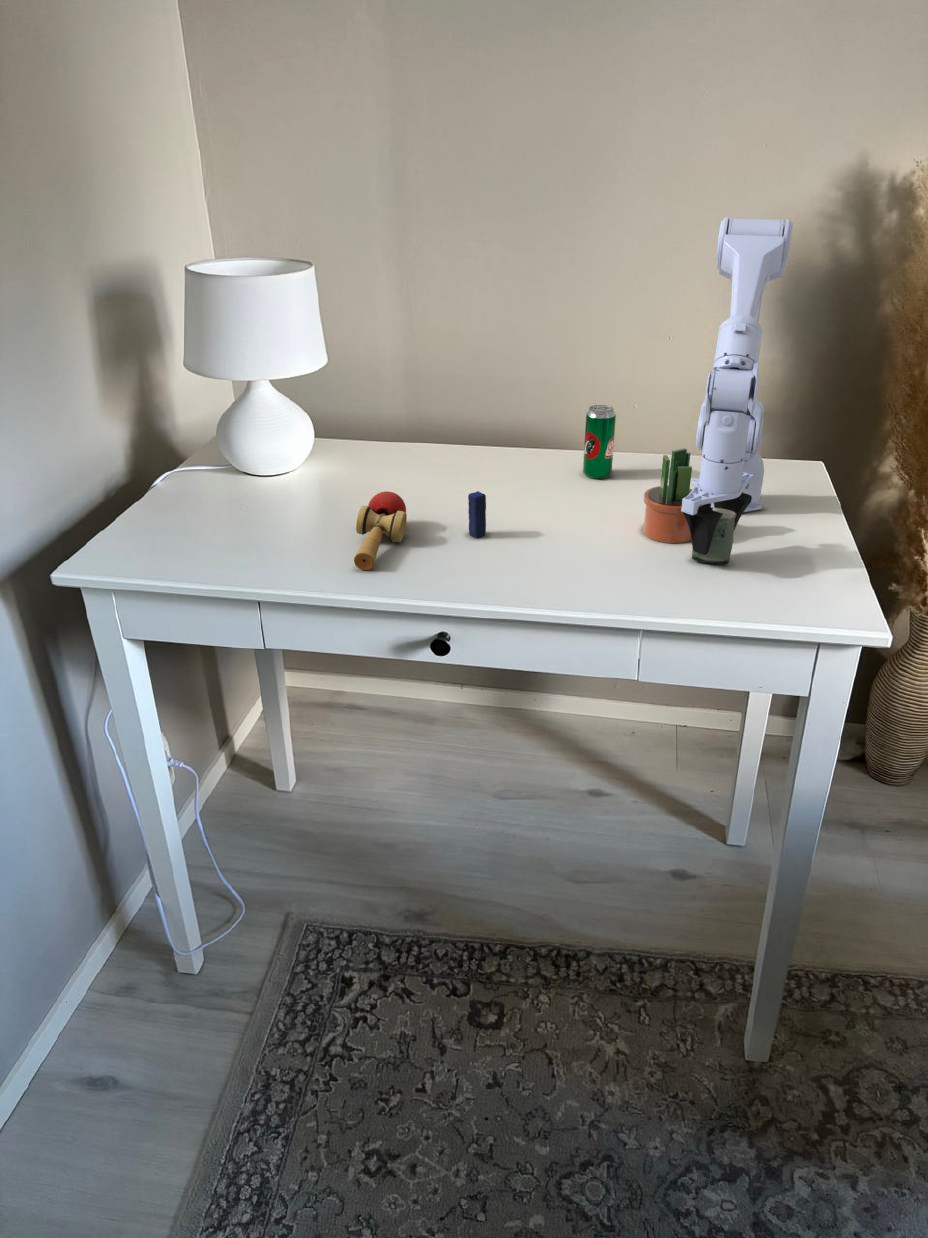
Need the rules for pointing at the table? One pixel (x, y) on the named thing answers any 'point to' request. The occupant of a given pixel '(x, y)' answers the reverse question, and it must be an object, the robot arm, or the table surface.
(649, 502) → the plant
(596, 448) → the soda can
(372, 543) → the kendama
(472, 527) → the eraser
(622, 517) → the table surface
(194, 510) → the table surface
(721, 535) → the pale green rounded block
